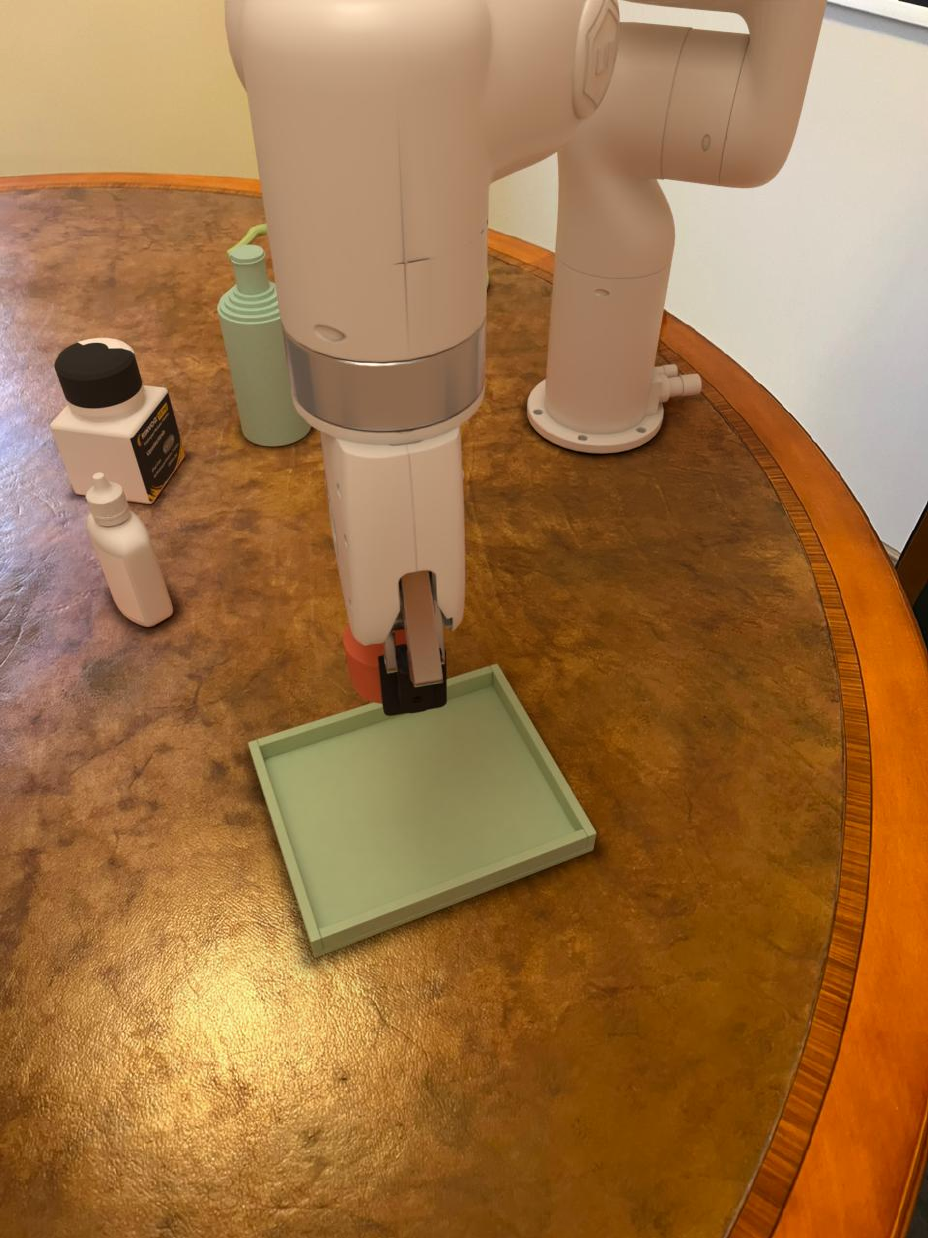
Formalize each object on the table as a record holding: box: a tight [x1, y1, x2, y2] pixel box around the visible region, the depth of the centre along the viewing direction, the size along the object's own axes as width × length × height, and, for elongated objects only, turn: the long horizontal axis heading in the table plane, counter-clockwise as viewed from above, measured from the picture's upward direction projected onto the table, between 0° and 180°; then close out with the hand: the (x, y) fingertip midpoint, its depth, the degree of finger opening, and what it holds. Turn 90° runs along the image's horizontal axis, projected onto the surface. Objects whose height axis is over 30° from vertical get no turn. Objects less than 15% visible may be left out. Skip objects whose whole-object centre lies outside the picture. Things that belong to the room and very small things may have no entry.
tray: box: [247, 663, 597, 959], centre depth 57 cm, size 17×14×2 cm
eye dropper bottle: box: [85, 473, 174, 628], centre depth 65 cm, size 4×6×12 cm
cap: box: [342, 622, 407, 704], centre depth 47 cm, size 4×4×3 cm
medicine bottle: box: [49, 337, 186, 505], centre depth 76 cm, size 7×7×12 cm
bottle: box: [216, 244, 312, 447], centre depth 80 cm, size 6×6×16 cm
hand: (406, 670), depth 48 cm, fingers closed on cap, 4 cm apart
